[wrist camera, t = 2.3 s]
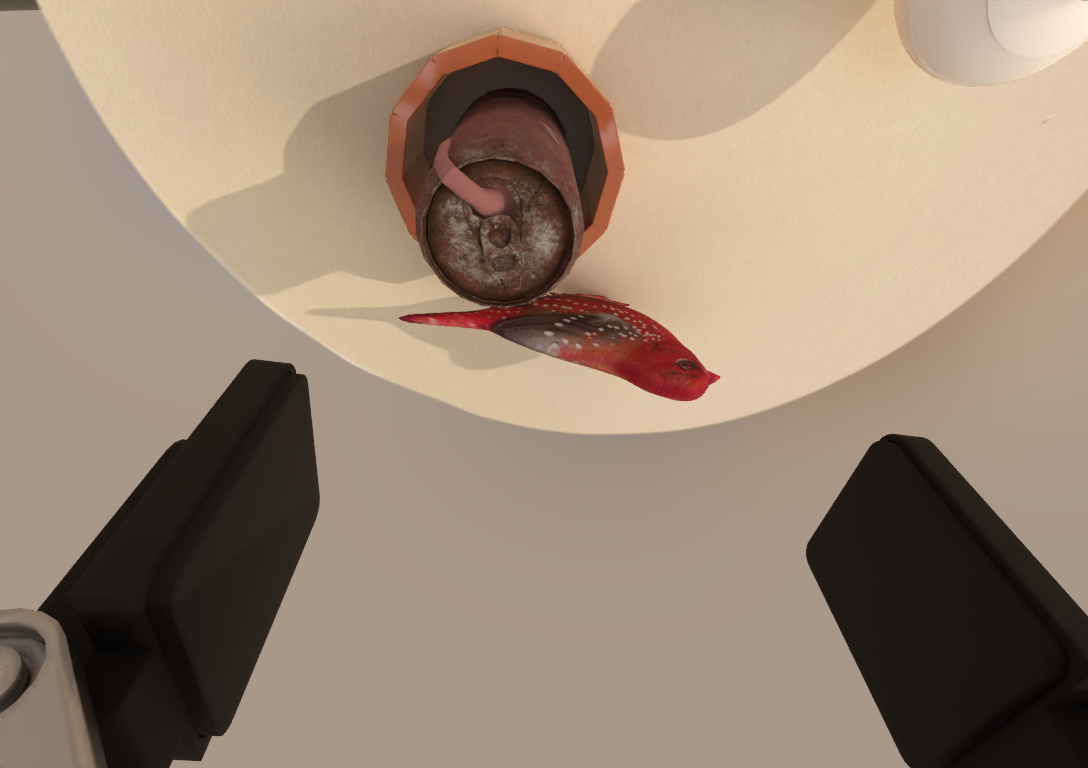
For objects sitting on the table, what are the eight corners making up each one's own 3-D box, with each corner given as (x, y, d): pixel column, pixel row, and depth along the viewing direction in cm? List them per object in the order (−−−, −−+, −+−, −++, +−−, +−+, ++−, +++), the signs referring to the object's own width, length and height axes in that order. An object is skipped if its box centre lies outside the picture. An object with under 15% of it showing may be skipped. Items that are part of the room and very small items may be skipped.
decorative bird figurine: (681, 330, 38) (723, 423, 29) (416, 292, 36) (382, 380, 28) (695, 291, 36) (743, 378, 28) (418, 249, 34) (382, 330, 26)
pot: (401, 218, 33) (378, 257, 28) (422, 3, 27) (398, 5, 22) (577, 258, 35) (584, 301, 30) (633, 64, 29) (654, 78, 24)
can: (502, 54, 28) (482, 95, 17) (588, 146, 31) (622, 236, 19) (429, 146, 31) (367, 236, 19) (515, 224, 33) (505, 345, 22)
